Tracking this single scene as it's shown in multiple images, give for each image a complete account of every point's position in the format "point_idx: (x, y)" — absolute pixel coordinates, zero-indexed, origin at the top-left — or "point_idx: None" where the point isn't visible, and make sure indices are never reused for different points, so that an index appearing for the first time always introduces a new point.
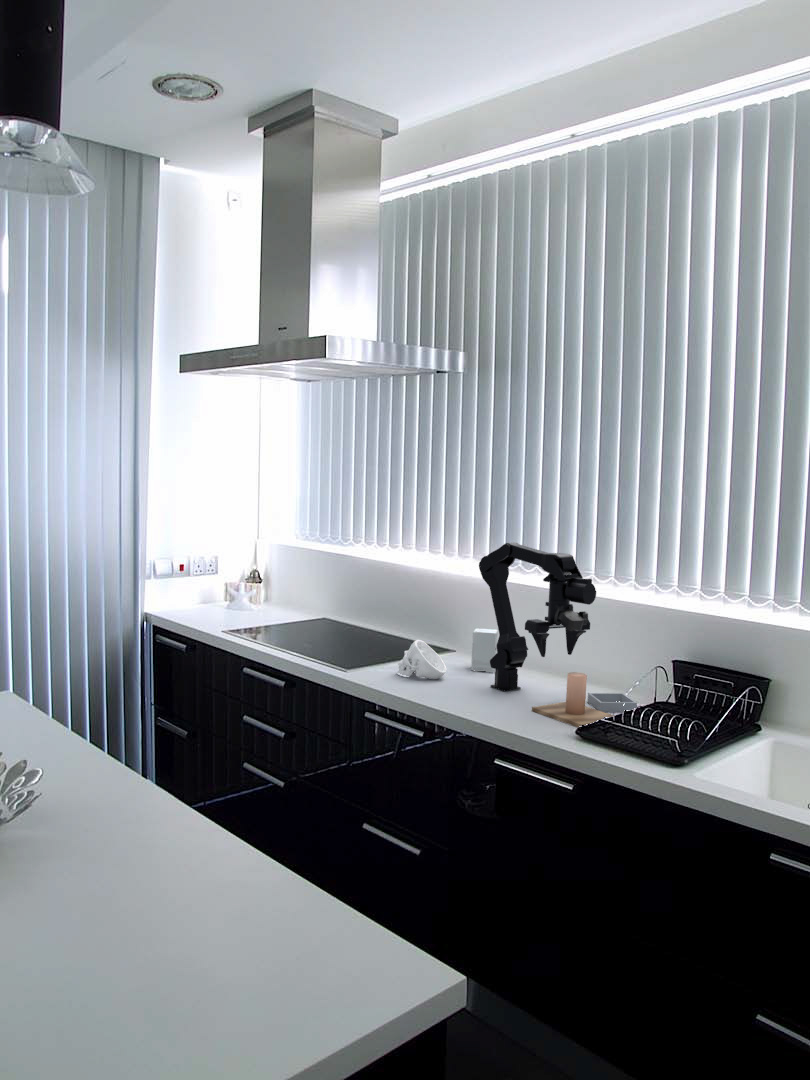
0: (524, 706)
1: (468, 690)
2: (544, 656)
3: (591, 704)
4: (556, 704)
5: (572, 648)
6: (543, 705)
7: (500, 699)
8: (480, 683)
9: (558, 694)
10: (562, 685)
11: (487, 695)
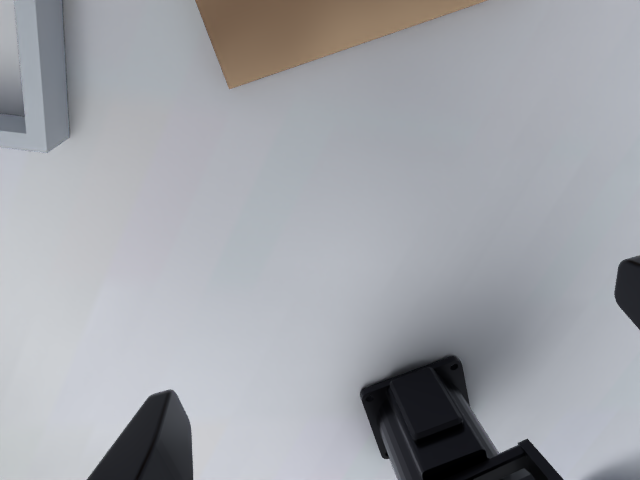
0: (518, 93)
1: (576, 377)
2: (637, 257)
3: (62, 48)
4: (365, 13)
5: (119, 470)
6: (464, 3)
7: (546, 240)
8: None
9: (202, 311)
10: None
11: (556, 307)
